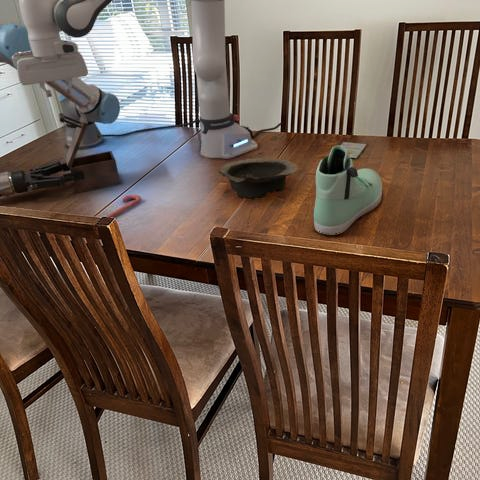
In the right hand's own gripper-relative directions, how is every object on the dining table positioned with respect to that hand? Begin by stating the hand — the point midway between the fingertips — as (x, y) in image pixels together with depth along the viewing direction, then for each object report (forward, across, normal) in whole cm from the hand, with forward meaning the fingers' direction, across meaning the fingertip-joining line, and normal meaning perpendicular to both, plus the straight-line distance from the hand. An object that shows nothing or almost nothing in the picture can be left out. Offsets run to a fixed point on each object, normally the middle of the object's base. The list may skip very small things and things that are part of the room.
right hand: (59, 95), depth 150 cm
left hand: (+25, +1, 0) cm, 25 cm away
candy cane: (+31, +10, -25) cm, 41 cm away
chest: (+31, +5, 0) cm, 32 cm away
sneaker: (+32, +70, -57) cm, 96 cm away
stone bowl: (+32, +53, -32) cm, 69 cm away
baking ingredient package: (+32, +95, -18) cm, 102 cm away
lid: (+16, +2, 0) cm, 16 cm away
